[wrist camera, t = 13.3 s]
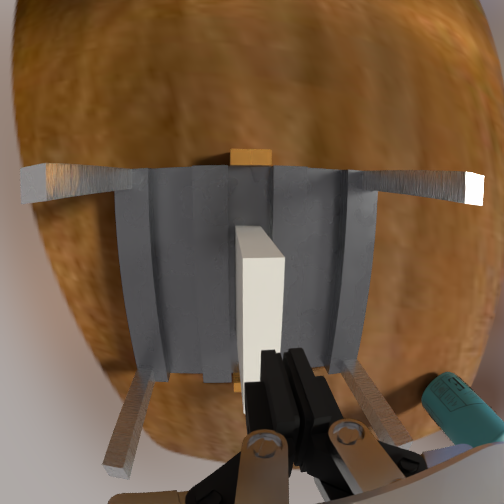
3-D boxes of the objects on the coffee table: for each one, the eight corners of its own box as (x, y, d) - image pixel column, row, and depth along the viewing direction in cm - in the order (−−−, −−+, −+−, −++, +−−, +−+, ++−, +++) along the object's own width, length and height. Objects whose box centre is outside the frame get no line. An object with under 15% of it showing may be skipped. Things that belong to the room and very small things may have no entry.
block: (235, 225, 23) (242, 258, 14) (259, 225, 24) (284, 257, 14) (236, 336, 26) (243, 413, 16) (258, 335, 26) (275, 411, 16)
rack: (123, 157, 22) (21, 139, 8) (366, 159, 24) (483, 152, 10) (147, 375, 27) (114, 483, 13) (344, 367, 29) (401, 461, 15)
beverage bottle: (410, 406, 32) (479, 502, 13) (420, 371, 31) (508, 471, 11) (443, 392, 33) (514, 474, 13) (454, 358, 31) (541, 439, 12)
